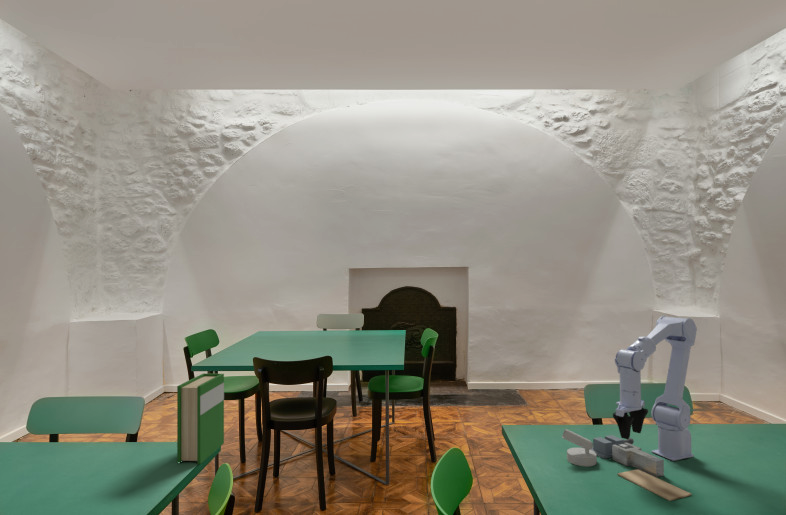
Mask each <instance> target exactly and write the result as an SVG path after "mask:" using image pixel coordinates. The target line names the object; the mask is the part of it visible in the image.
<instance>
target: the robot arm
mask: <svg viewBox="0 0 786 515" xmlns="http://www.w3.org/2000/svg"><path fill="white" fill-rule="evenodd" d="M697 330H698V329H697V325H696V323H695V321H694V320H693V319H692V318H689V317H687V318H684V317H673V316H666V315H662V316H660V317H659V318H658V319H657V320H656V322H655V327H654V328H653V329H652V330H651V331H650V332H649V334H647V336H638V337H637V339H636V340H635V341H634V342H633V343H632V344H630V346H628V347H626V349H625V348H622V349H620V350H618V351H617V352H616V355H615V358H614V364H615V366H616V368H617V374H619V401H616V403H615V405H616V406H617V408H615V412H613V413H612V417H613V419H614V420H615V423H616V425H617V427H618V431H619V435H620V437H621V438H620V439H623V440H627V439H629V438H631V430H632V432H633V433H636V434H641V433H642V429H643V424H644V421H645V419H646V417H647V415H648V413H649V409H648V408H645V400H643V399H642V385H641V384H642V382H641V381H642V380H641V379H642V378H641V376H642V374H641V371H642V370H643V369H644V367H645V364H646V362H647V360H648V359H649V357H650V356H651V355H653V354H654V353H655V352H656V351H657V345H658V344H660V343H661V342H662V341H664V340H665V342H666V343H668V344H670V345H671V352H670V358H669V363H668V369H667V373H666V374H667V375H666V379H665V380H666V381H665V387H664V391H663V393H662V394H661V395H659V396H658V397H656V398H655V402H654V404H653V406H652V408H651V413H650V414H651V419H652V421H653V422H655V425H656V426H657V440H658V443H657V449H652V450H651V453H653V454H655V455H657V456H661V457H663V458H666V459H667V460H670V461H674V462H675V461H679V460H683V459H688V458H693V457H695V454H693V453H692V434H691V431H690V429H689V426H690V425H691V424H690V423H691V406H690V405H689V404H688V403H687V402H686V401H685V400H684V399H683V397H684V396H683V395H684V391H685V390H684V389H685V384H686V377H687V373H688V366H689V361H690V360H689V359H690V353H691V349H692V347H693V346H694V345H695V341H696V336H697Z"/></svg>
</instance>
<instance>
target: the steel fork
mask: <svg viewBox="0 0 786 515" xmlns="http://www.w3.org/2000/svg"><path fill="white" fill-rule="evenodd" d="M624 444H625V445H627V446H628V449H625V448H622V447H620V446H618V445H612V457H611V458H612V460H613V461H615V462H617V463H620V464H621V465H623V466H626V467H633V468H636V469H639V470H641V471H643V472H645V473H647V474H649V475H652V476H654V477H656V478H659V477H663V476H665V467H664V465H665V464H664V463H665V462H664V461H665V460H664V459H663V458H660V457H658V456H655V455H652V454H650V453H648V452H646V451H643V450H642V448H641V447H639V446H636V445H634V444H629V443H627V442H626V443H624Z"/></svg>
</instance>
